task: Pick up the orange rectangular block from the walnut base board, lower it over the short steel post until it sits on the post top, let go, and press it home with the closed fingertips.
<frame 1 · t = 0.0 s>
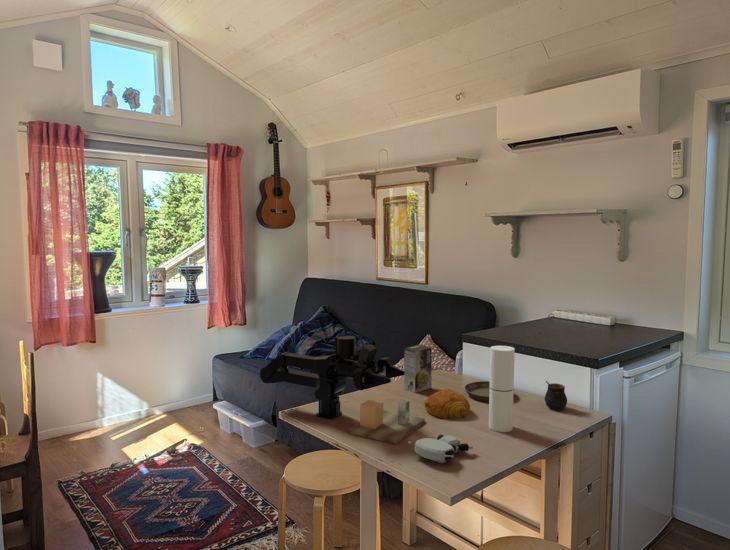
hand: (397, 376, 162), 17 cm above the table, tool horizontal, fingers open, 9 cm apart
plant saucer: (488, 396, 197), on the table
croissant: (446, 412, 179), on the table
orange rectangular block: (371, 424, 164), point 1 cm above the table, touching base board
coffee box: (417, 389, 205), on the table
post: (403, 423, 165), resting on base board
mate gourd: (555, 408, 183), on the table
robot toy: (441, 456, 145), on the table
cylindrical container: (500, 428, 165), on the table
base board: (387, 427, 165), on the table
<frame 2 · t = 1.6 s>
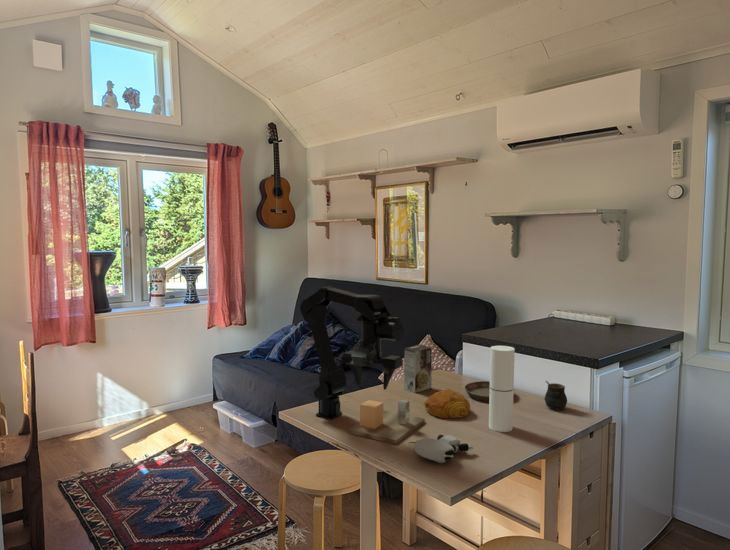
hand: (371, 387, 163), 13 cm above the table, tool pointing down, fingers open, 9 cm apart
nothing on the table moved.
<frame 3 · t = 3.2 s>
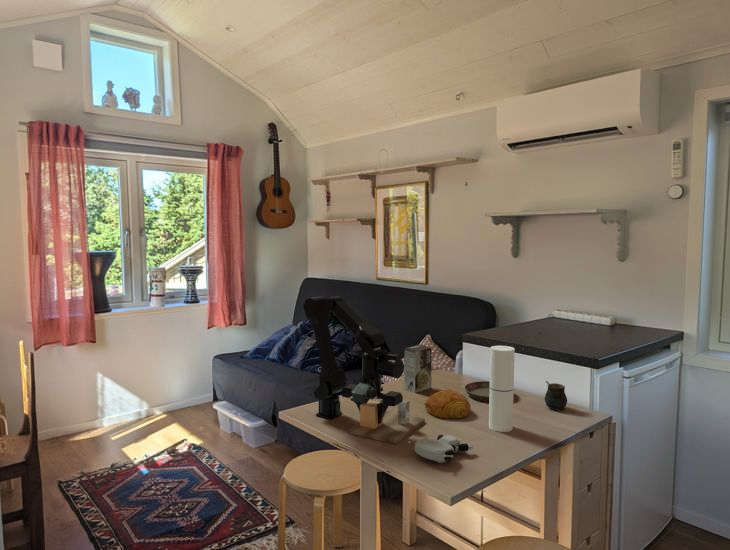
hand: (371, 421, 164), 2 cm above the table, tool pointing down, fingers closed on orange rectangular block, 5 cm apart
orange rectangular block: (371, 424, 164), point 1 cm above the table, touching base board, gripper
everything else where it was.
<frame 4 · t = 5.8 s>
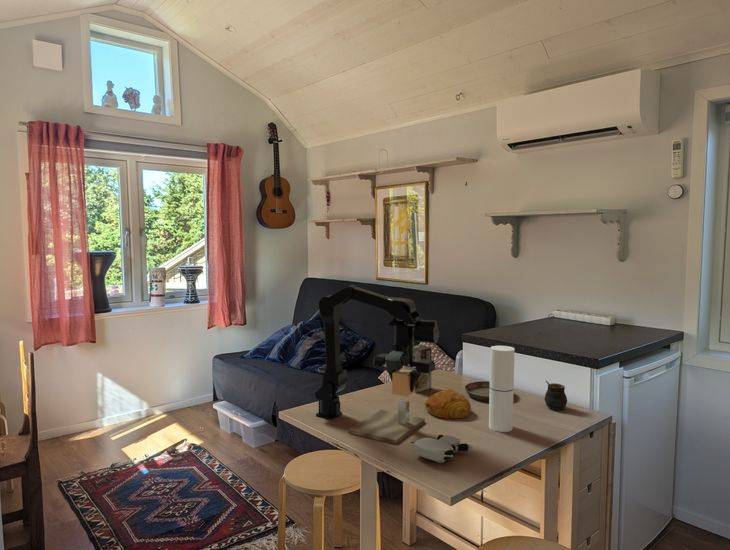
hand: (403, 390, 164), 12 cm above the table, tool pointing down, fingers closed on orange rectangular block, 5 cm apart
orange rectangular block: (403, 392, 164), point 11 cm above the table, touching gripper
everything else where it was.
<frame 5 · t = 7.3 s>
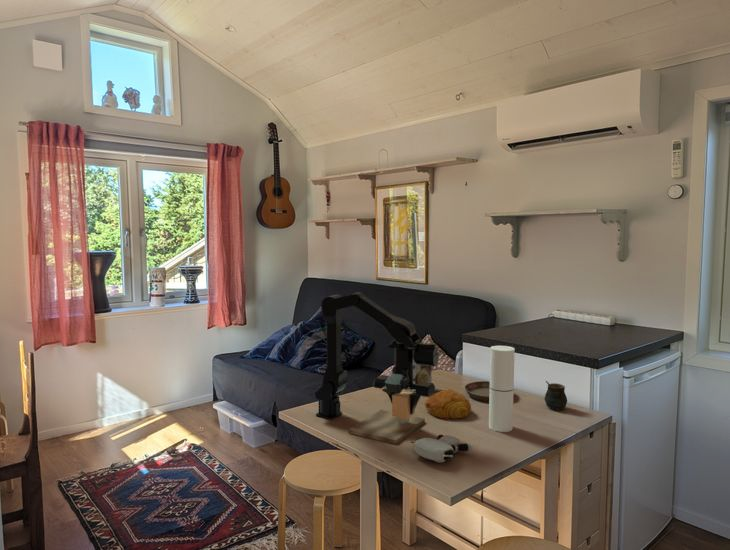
hand: (403, 412, 165), 5 cm above the table, tool pointing down, fingers closed on orange rectangular block, 5 cm apart
orange rectangular block: (403, 415, 165), point 4 cm above the table, touching gripper
everything else where it was.
when the fingers open (4 cm above the table, at t = 8.4 s): orange rectangular block drops 1 cm, resting on post.
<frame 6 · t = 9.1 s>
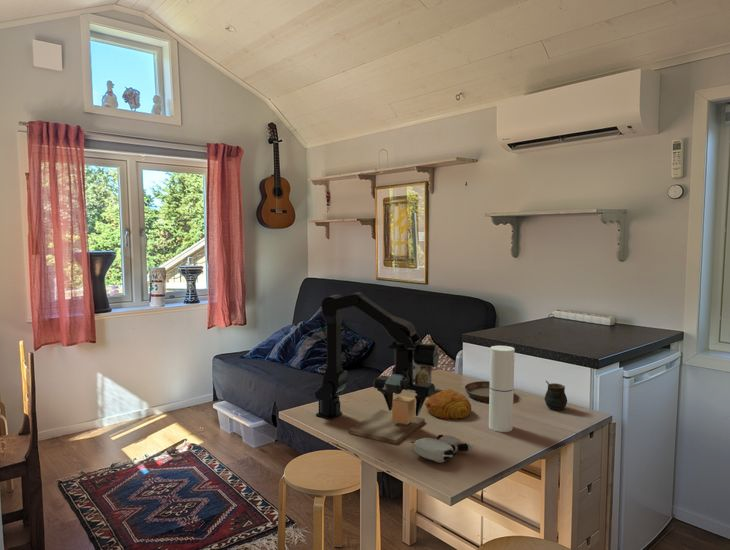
hand: (403, 412, 165), 4 cm above the table, tool pointing down, fingers open, 9 cm apart
orange rectangular block: (403, 420, 165), point 2 cm above the table, touching post
everything else where it was.
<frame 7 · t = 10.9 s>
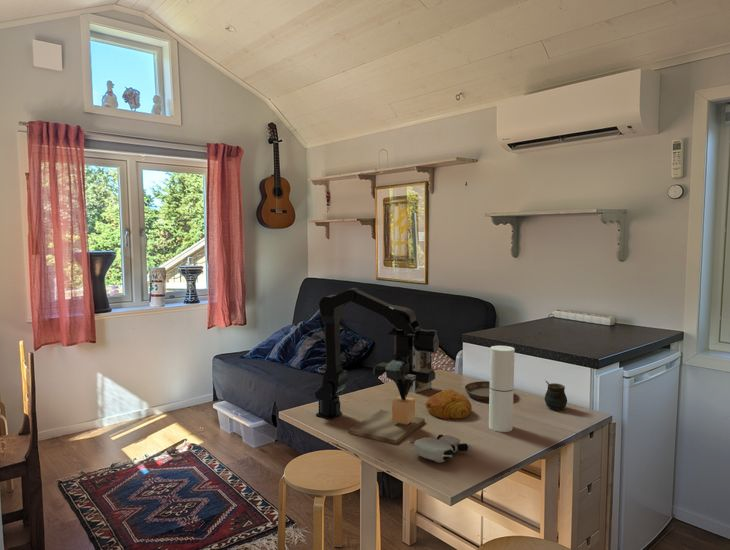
hand: (403, 399, 165), 9 cm above the table, tool pointing down, fingers closed, pressing on orange rectangular block
orange rectangular block: (403, 420, 165), point 2 cm above the table, touching gripper, post
everything else where it was.
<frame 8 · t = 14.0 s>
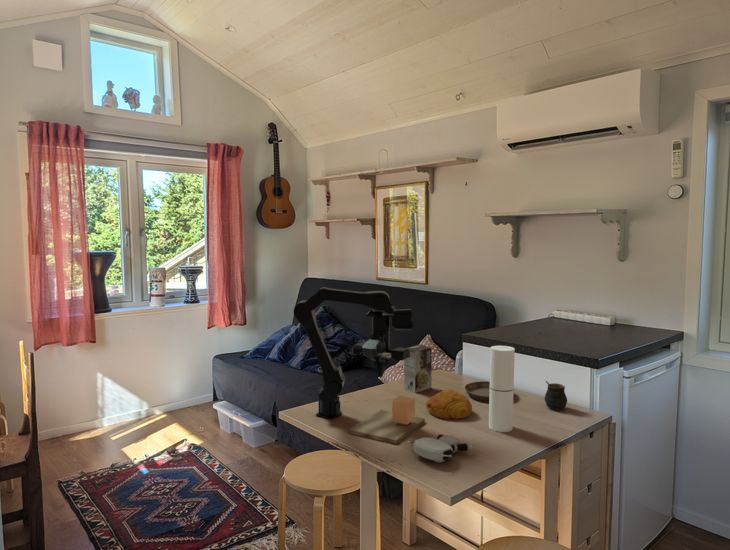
hand: (380, 377, 174), 13 cm above the table, tool pointing down, fingers closed
orange rectangular block: (403, 420, 165), point 2 cm above the table, touching post
everything else where it was.
at the end: orange rectangular block 0.1 cm from the post (horizontally); orange rectangular block point 2.2 cm above the table; orange rectangular block tilted 0° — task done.
